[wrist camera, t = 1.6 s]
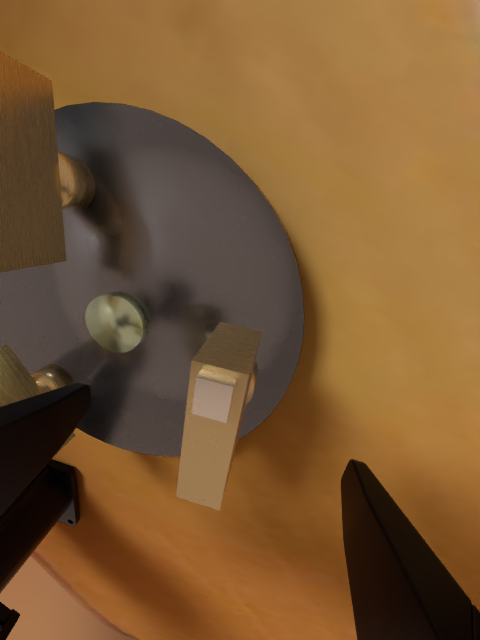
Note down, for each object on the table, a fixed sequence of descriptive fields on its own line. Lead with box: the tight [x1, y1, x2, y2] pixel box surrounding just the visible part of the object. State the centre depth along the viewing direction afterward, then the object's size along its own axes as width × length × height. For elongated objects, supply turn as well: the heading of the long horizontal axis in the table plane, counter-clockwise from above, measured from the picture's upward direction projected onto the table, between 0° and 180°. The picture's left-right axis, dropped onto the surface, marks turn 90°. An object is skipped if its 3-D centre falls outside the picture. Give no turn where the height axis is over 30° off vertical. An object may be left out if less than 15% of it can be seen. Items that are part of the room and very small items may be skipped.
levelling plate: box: [0, 102, 304, 456], centre depth 13 cm, size 17×17×2 cm
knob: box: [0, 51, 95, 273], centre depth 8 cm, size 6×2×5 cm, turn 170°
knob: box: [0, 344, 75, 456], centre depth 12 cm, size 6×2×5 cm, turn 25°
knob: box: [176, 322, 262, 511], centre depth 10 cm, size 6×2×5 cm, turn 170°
